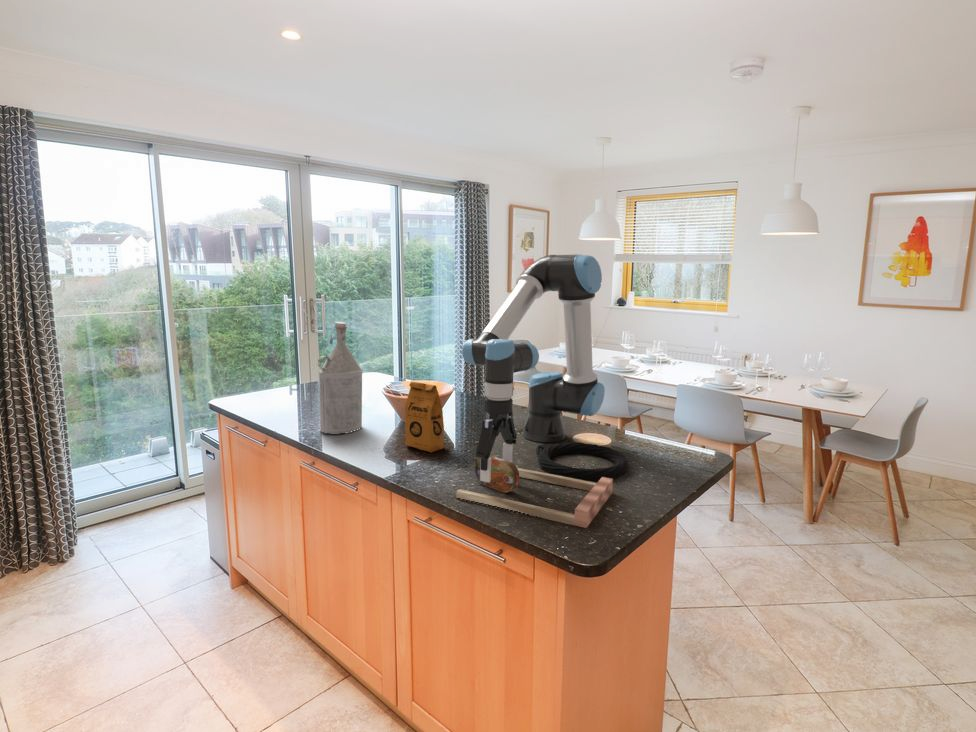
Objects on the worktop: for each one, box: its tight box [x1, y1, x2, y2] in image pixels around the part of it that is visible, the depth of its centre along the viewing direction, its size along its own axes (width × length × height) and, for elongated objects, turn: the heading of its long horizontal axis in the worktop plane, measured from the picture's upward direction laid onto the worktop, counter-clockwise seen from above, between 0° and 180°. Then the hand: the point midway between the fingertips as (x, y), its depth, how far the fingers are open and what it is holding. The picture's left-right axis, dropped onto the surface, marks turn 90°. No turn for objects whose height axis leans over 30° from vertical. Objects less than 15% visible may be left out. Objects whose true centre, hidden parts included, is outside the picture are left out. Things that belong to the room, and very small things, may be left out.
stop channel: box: [456, 467, 614, 529], centre depth 147 cm, size 24×35×4 cm
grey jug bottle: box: [317, 321, 363, 435], centre depth 201 cm, size 13×17×40 cm
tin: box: [474, 454, 520, 494], centre depth 152 cm, size 15×3×8 cm, turn 45°
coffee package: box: [404, 380, 445, 453], centre depth 183 cm, size 10×12×22 cm
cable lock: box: [535, 442, 629, 482], centre depth 172 cm, size 28×4×30 cm
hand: (496, 473), depth 152 cm, fingers open, 13 cm apart
